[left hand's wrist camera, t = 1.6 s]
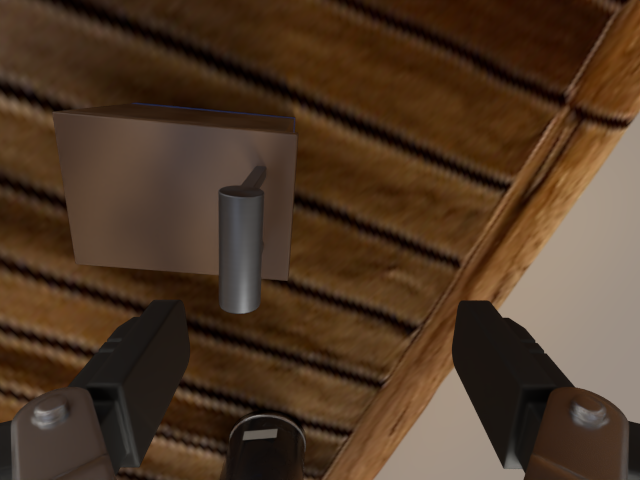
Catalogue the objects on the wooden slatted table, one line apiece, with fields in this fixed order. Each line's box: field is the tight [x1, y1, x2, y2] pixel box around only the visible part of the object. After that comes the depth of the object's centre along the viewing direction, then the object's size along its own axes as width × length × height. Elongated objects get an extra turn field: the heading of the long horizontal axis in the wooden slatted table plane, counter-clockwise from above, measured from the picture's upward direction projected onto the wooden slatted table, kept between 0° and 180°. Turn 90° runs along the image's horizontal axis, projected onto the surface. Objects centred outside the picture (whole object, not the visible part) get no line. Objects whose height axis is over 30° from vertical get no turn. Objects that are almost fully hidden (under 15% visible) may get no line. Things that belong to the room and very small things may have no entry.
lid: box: [52, 111, 298, 314], centre depth 22 cm, size 15×10×9 cm
